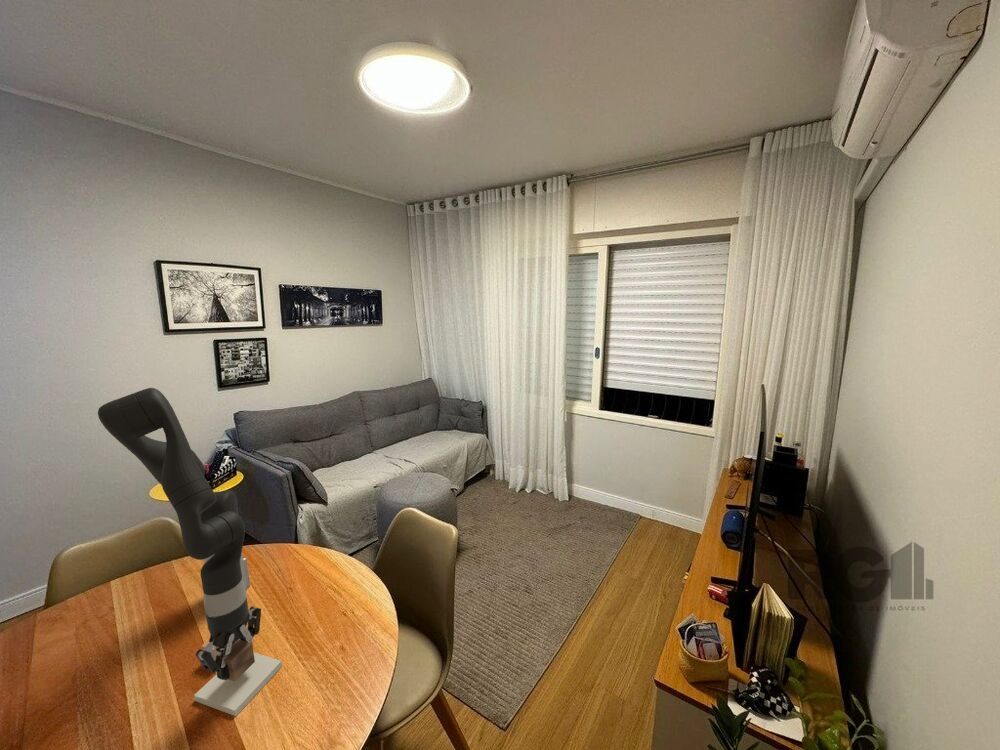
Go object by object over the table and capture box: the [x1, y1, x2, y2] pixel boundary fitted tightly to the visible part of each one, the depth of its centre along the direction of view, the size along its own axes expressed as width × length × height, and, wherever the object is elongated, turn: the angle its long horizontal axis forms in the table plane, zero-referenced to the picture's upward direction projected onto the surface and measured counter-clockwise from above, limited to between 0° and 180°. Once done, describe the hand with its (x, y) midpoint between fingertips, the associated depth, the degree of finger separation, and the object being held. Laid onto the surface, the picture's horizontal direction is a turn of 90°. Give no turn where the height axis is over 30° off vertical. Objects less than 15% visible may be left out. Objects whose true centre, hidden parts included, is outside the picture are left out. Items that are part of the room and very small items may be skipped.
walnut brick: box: [227, 639, 255, 681], centre depth 87 cm, size 5×5×5 cm
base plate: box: [193, 652, 283, 717], centre depth 88 cm, size 12×12×2 cm
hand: (236, 666), depth 87 cm, fingers closed on walnut brick, 5 cm apart
